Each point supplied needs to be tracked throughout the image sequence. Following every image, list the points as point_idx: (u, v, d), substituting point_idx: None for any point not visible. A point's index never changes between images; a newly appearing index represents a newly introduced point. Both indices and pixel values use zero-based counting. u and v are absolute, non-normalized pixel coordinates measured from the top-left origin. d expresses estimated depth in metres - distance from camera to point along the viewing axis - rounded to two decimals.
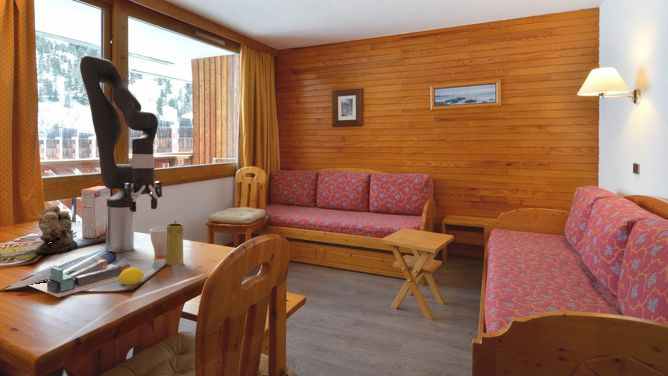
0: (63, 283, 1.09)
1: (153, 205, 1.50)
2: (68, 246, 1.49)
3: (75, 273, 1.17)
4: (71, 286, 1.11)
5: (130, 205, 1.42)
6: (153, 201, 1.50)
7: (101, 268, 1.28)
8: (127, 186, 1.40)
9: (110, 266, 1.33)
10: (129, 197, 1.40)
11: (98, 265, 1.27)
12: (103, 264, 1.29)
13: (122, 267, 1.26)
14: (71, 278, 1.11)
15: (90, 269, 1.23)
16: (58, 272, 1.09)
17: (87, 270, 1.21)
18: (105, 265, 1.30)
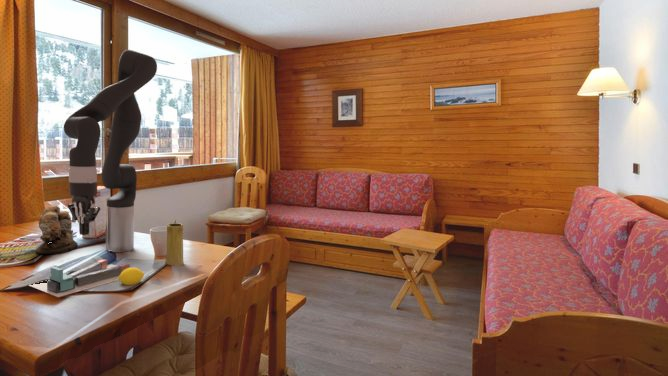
0: (63, 283, 1.09)
1: None
2: (68, 246, 1.49)
3: (75, 273, 1.17)
4: (71, 286, 1.11)
5: (86, 227, 1.26)
6: None
7: (101, 268, 1.28)
8: (97, 211, 1.25)
9: (110, 266, 1.33)
10: None
11: (98, 265, 1.27)
12: (103, 264, 1.29)
13: (122, 267, 1.26)
14: (71, 278, 1.11)
15: (90, 269, 1.23)
16: (58, 272, 1.09)
17: (87, 270, 1.21)
18: (105, 265, 1.30)
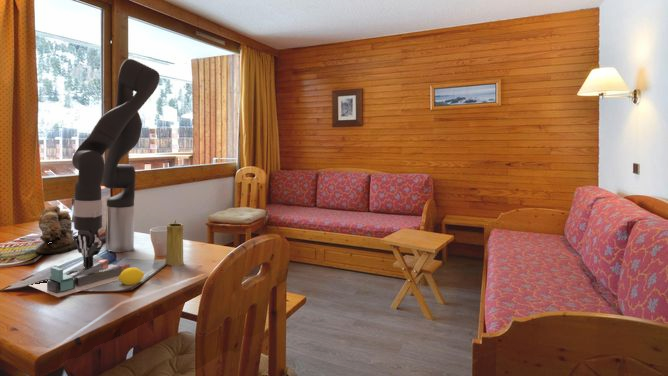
0: (63, 283, 1.09)
1: None
2: (68, 246, 1.49)
3: (75, 273, 1.17)
4: (71, 286, 1.11)
5: (90, 261, 1.25)
6: None
7: (102, 268, 1.28)
8: (101, 245, 1.23)
9: (110, 266, 1.33)
10: None
11: (99, 265, 1.27)
12: (104, 264, 1.29)
13: (122, 267, 1.26)
14: (71, 278, 1.11)
15: (91, 269, 1.23)
16: (58, 272, 1.09)
17: (87, 270, 1.21)
18: (106, 265, 1.30)
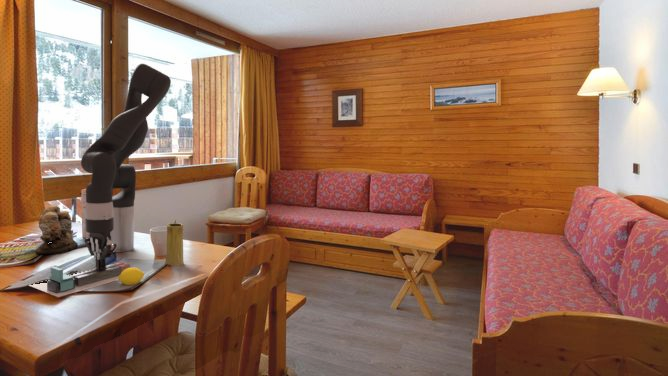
0: (63, 283, 1.09)
1: None
2: (68, 246, 1.49)
3: (78, 274, 1.17)
4: (71, 286, 1.11)
5: (103, 263, 1.24)
6: None
7: None
8: (114, 248, 1.22)
9: None
10: None
11: None
12: None
13: (122, 267, 1.26)
14: (71, 278, 1.11)
15: None
16: (58, 272, 1.09)
17: None
18: None
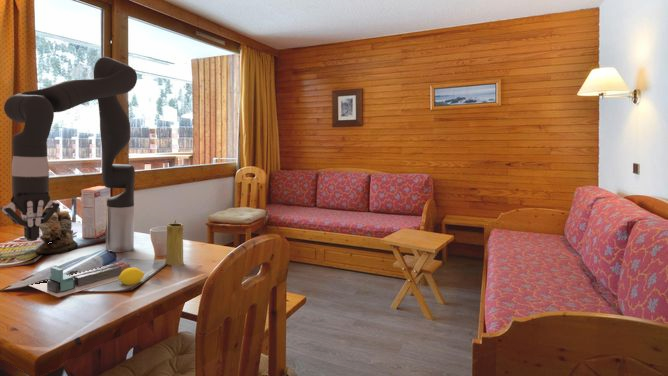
0: (63, 283, 1.09)
1: None
2: (68, 246, 1.49)
3: (78, 274, 1.17)
4: (71, 286, 1.11)
5: None
6: None
7: None
8: None
9: None
10: None
11: None
12: None
13: (122, 267, 1.26)
14: (71, 278, 1.11)
15: None
16: (58, 272, 1.09)
17: None
18: None
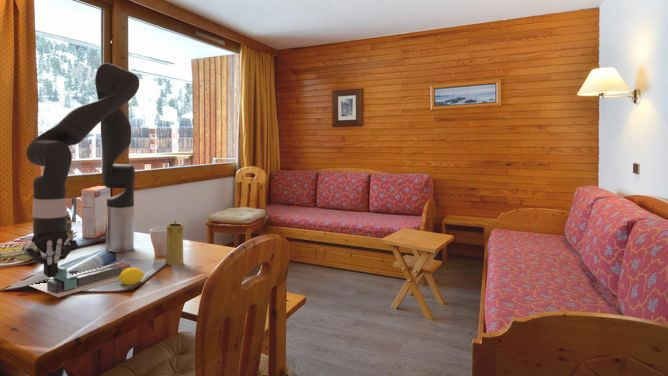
0: (67, 282, 1.10)
1: None
2: None
3: (78, 274, 1.17)
4: (75, 285, 1.12)
5: None
6: None
7: None
8: None
9: None
10: None
11: None
12: None
13: (122, 267, 1.26)
14: (75, 277, 1.12)
15: None
16: (62, 271, 1.10)
17: None
18: None
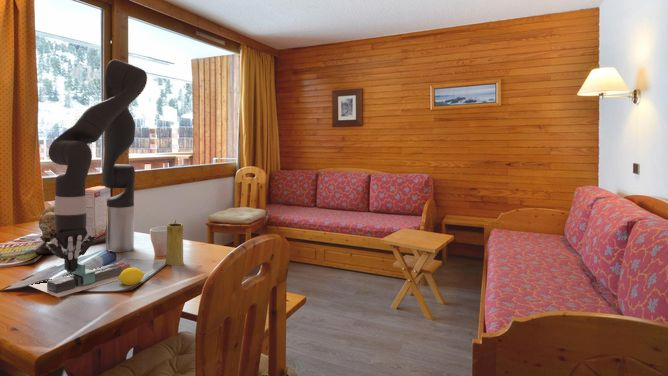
0: (85, 277, 1.15)
1: None
2: None
3: None
4: (93, 280, 1.17)
5: None
6: None
7: None
8: None
9: None
10: None
11: None
12: None
13: (122, 267, 1.26)
14: (93, 272, 1.17)
15: None
16: (81, 266, 1.14)
17: None
18: None
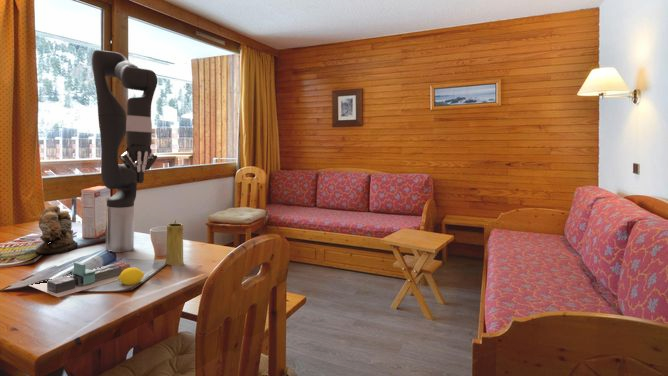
0: (86, 277, 1.15)
1: None
2: (68, 246, 1.49)
3: None
4: (93, 280, 1.17)
5: None
6: None
7: None
8: None
9: None
10: None
11: None
12: None
13: (122, 267, 1.26)
14: (93, 272, 1.17)
15: None
16: (81, 266, 1.14)
17: None
18: None
